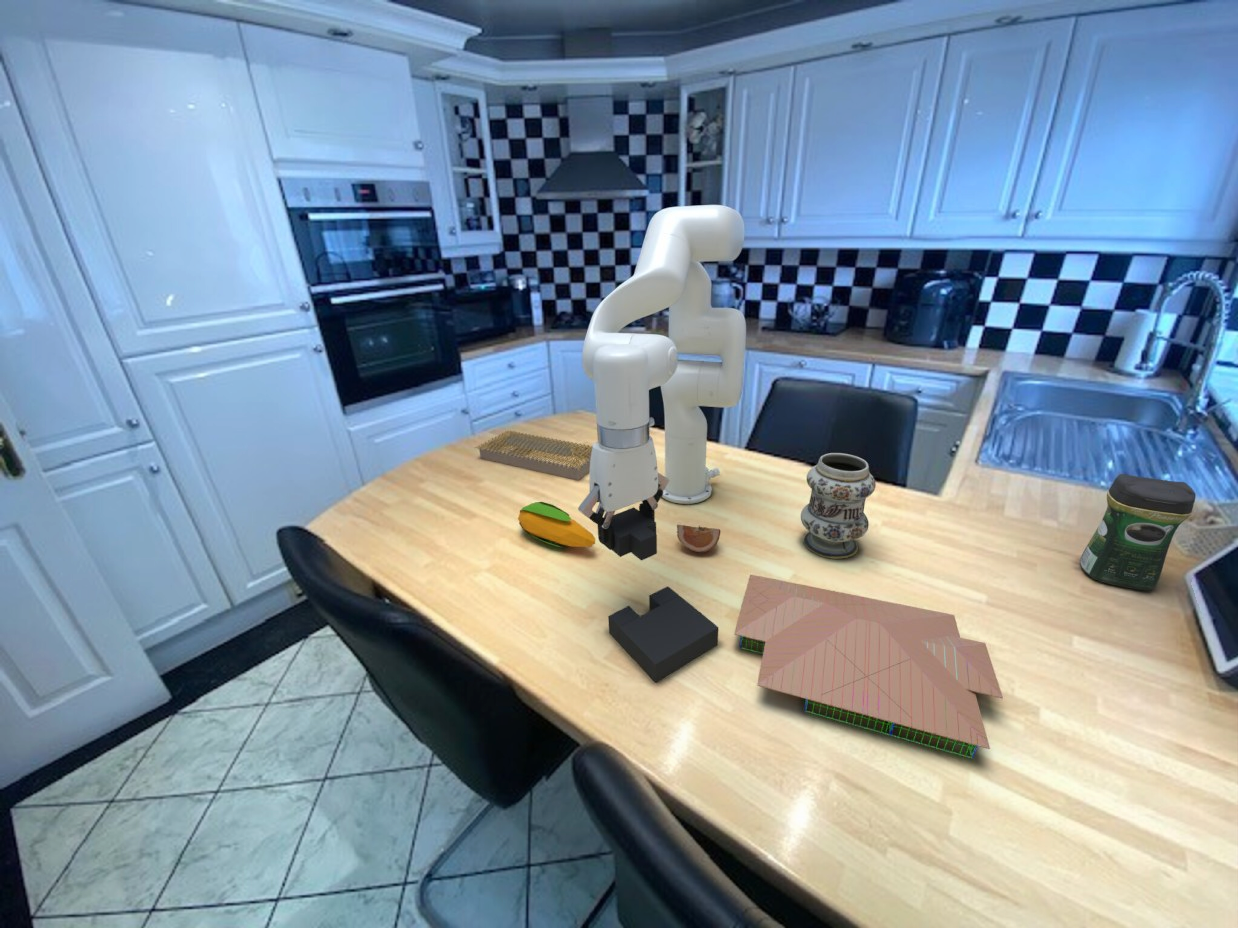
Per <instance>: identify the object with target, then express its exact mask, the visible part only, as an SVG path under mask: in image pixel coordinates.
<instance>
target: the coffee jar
mask: <svg viewBox="0 0 1238 928" xmlns="http://www.w3.org/2000/svg"><path fill="white" fill-rule="evenodd" d="M1115 477H1116V478H1114V480H1113V483H1112V484H1111V485H1110V487H1109V488H1108V490H1107V493H1106V503H1107V506H1106V510H1105V512H1104V514H1103V517H1102V520H1101V521H1100V523H1099V525H1098V526H1097V528H1096V530H1095V532H1094V533H1093V534H1092V536H1091V538H1090V539H1089V542H1088V543H1087V545H1086V546H1085V549H1084V550H1083V552H1082V554H1081V556H1080V559H1079V564H1080V567H1081V570H1082V571H1083V572H1085V574H1086V575H1088V576H1089V577H1090V578H1092V579H1094V580H1096V581H1099V582H1101V583H1105V584H1109V585H1113V586H1117V587H1122V588H1128V589H1132V590H1133V589H1134V590H1141V591H1149V590H1152V589H1155V588H1156V587H1157V586H1158V583H1159V580H1160V579H1161V575H1162V572H1163V569H1164V564H1165V562H1166V557H1167V555H1168V551H1169V548H1170V545H1171V544H1172V543H1171V542H1172V539H1173V537H1174V535H1175V534H1176V531H1177V529H1179V526H1180V525H1181V524H1182V523H1183V522H1185V521H1186V520H1187V519H1188V518H1190V516H1191V514H1192V513H1193V509H1194V506H1195V505H1194V504H1195V502H1196V492H1195V491H1194V489H1193V488H1192V487H1191V486H1190V485H1189V484H1188V483H1187V482H1185V481H1173V480H1167V479H1166V480H1165V479H1161V478H1160V479H1158V478H1152V477H1144V476H1136V475H1130V474H1126V473H1125V474H1124V473H1119V474H1118V475H1117V476H1115Z"/></svg>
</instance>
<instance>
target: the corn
mask: <svg viewBox="0 0 1238 928" xmlns="http://www.w3.org/2000/svg"><path fill="white" fill-rule="evenodd" d="M517 519H518V523H519V526H520V528H521V529H522V530H523V531H524V532H525V533H527V534H528V535H530V536H532V537H533V538H535V539H536V540H538V541H541V542H544V543H545V544H548V545H551V546H555V547H558V548H562V549H565V546H569V547H572V548H584V547H586V548H588V547H592V546H594V545H596V538H595V536H594V534H593V533H592V532H590V531H589V530H588V529H587V528H585V527H584V526H582V525H581V524H580V523H579V522H578V521H576V520H575V519H572V517H570V514H569V513H568V512H566V511H565V510H563V509H561V508H559V507H558V506H556V505H554V504H551V503H547V502H544V501H536V502H532V503H529V504H527V505H525V506H523V507H522V508H521V509H520V510H519V514H518V517H517Z"/></svg>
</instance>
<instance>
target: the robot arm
mask: <svg viewBox="0 0 1238 928" xmlns="http://www.w3.org/2000/svg"><path fill="white" fill-rule="evenodd" d="M745 231H746V230H745V223H744V219H743V216H742V215H741V213H740V212H739V211H738V210H737V209H734V208H732V207H729V206H727V205H722V204H702V205H681V206H671V207H666V208H663V209H660V210H658V211H657V212H656V213H654V215H653V216H652V217H651V219H650V221H649V222H648V226H647V228H646V231H645V236H644V239H643V242H642V245H641V249H640V253H639V255H638V259H637V263H636V266H635V269H634V273H633V275H632V276H631V277H629V278H628V279H626V280H625V281H623V282H622V283H621V284H619V285H618V286H617V287H616V288H615V289H613V290H612V291H611V292H610V293H609V294H607V296H606V297H604V299H603V300H602V301H601V302H600V303H599V304H598V305H597V307H596V308H595V310H594V311H593V313H592V316H591V318H590V320H589V321H590V322H589V324H588V327H587V331H586V334H585V337H584V341H583V345H582V351H581V366H582V369H583V372H584V374H585V375H586V377H587V378H588V379H590V380H592V381H593V384H594V400H595V415H596V416H595V417H596V432H597V433H596V434H597V435H596V436H597V442H594V443H593V444H592V446H593V447H592V452H591V459H590V472H589V479H588V481H589V482H588V483H589V484H588V485H589V486H588V487H589V489H588V490H589V492H588V494H587V495H586V496H585V498H584V499H583V501H582V502H581V503H580V504H579V506H577V510H578V512H580V513H581V514H582V515H584V517H586V518H587V519H589V520H590V521H592V522H593V523H594V524H596V525H597V538H598V542H599V543H601V545H603V546H605V547H606V548H607V550H610V551H612V549H614V530H613V527H612V526H611V525H610V523H611V521H612V518H613V515H615V512H616V511H619V510H623V509H624V508H627V507H630V506H632V505H635V504H637V503H639V505H638V511H640V512H641V513H643V514H644V515H646V516H647V517H649V518H650V519H652V520H653V521H655V518H656V517H655V514H656V513H655V512H656V511H655V510H657V509H658V507H659V504H658V503H659V501H660V500H661V498H663V499H664V500H666V501H667V502H671V503H674V504H681V505H690V504H691V505H692V504H698V503H701V502H704V501H706V500H707V499H709V498H710V496H711V495H712V490H713V489H712V485H711V484H710V482H709V481H711V480H712V478H715V477H718V476H720V473H721V471H720V469H719V468H717V467H715V468H713V469H710V470H709V468H708V467H707V439H708V423H707V421H708V420H707V418H706V416H705V413H704V412H703V411H702V409H701V408H700V407H712V408H733V407H736V406H737V405H738V404H739V403H740V400H741V397H742V393H743V385H744V374H745V360H746V344H747V343H746V342H747V321H746V318H745V316H744V313H743V312H742V310H741V311H740V309H737V308H732V307H713V306H712V302H711V301H712V286H713V285H712V280H711V277H710V274H709V273H708V272H707V270H706V269H705V267H704V266H703V264H702V263H701V262H733V261H735V260H736V259H737V258H738V257H739V256H740V254H741V252H742V250H743V248H744V247H743V246H744V243H745V235H746V234H745V233H746V232H745ZM666 309H668V336H666V335H662V334H657V333H655V334H654V333H633V332H620V331H621V330H622V329H623V328H624V327H627V326H628V325H629V324H631V323H632V322H633V323H634V322H635V321H638V320H640V319H642V318H645V317H648V316H650V315H653V314H656V313H659V312H661V311H663V310H666ZM679 354H682V355H697V356H698V355H700V356H717V357H718V358H720V360H721V361H708V360H707V361H706V360H690V359H679ZM658 387H660V392H661V397H662V402H663V414H664V475H663V474H661V473H659V469H658V468H659V467H658V460H657V458H658V457H657V452H656V448H655V443H654V440H653V437H652V435H650V429H651V427H653V426H655V424H656V423H655V419H654V417H652V416H650V392H649V391H650V390H652V389H655V388H658ZM640 502H641V503H640ZM597 503H598V505H597ZM596 505H597V508H596V510H595V511H594V510H593V508H594V507H595V506H596ZM655 522H656V521H655Z"/></svg>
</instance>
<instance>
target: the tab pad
mask: <svg viewBox="0 0 1238 928" xmlns="http://www.w3.org/2000/svg"><path fill="white" fill-rule="evenodd" d="M610 525H611V526H612V527H613V530H614V549H612V550H611V551H612V552H614V554H615V555H617V556H618V557H619V558H621V557H624V556H626V555H628V554H630V553H631V554H632V555H634V557H636V558H637V559H638V560H640V561H644V560H647V559H648V558H650V557H653V556H655V555H657V554H658V535H657V522H656V521H653V520H652V519H650V518H649V517H647V516H646V515H644V514H643V513H641V512H640V511H639V509H637V508H636V507H634V506H633V507H631V508H628V509H626V510H623V511H620V512H617V513H616V514H615V513H614V515H613V518H612V521H611V523H610Z"/></svg>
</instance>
